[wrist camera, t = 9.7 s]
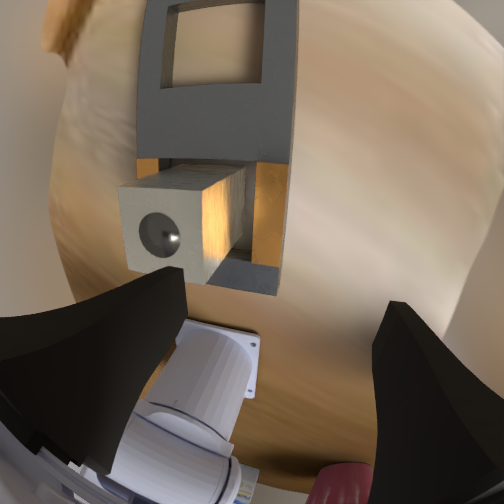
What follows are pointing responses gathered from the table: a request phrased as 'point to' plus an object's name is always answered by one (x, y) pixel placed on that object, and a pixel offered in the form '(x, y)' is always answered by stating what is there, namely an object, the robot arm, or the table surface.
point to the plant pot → (342, 484)
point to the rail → (226, 127)
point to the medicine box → (246, 484)
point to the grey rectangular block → (183, 218)
